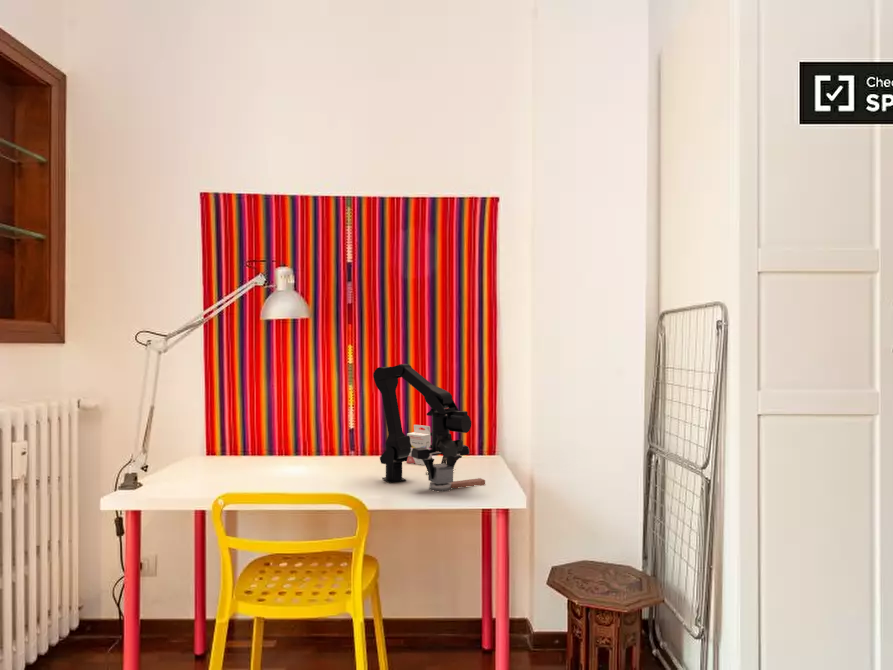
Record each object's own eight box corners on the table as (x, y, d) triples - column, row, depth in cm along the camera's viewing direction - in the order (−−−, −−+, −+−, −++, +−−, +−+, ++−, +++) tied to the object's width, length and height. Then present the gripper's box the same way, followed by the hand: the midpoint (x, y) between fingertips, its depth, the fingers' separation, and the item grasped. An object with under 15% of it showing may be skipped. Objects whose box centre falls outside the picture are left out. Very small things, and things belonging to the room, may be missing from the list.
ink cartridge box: (406, 463, 246) (406, 425, 247) (413, 461, 251) (413, 424, 251) (424, 465, 242) (424, 427, 242) (431, 463, 246) (431, 425, 246)
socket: (428, 480, 206) (428, 464, 206) (444, 478, 209) (444, 463, 209) (436, 483, 201) (436, 468, 201) (453, 481, 204) (453, 466, 204)
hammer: (435, 492, 200) (435, 476, 200) (426, 487, 206) (426, 472, 206) (488, 486, 209) (488, 471, 209) (477, 481, 215) (477, 467, 215)
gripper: (425, 435, 193) (425, 486, 193) (477, 431, 202) (477, 480, 202) (410, 430, 203) (410, 478, 203) (461, 427, 212) (461, 473, 212)
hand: (440, 477), depth 205 cm, fingers closed on socket, 6 cm apart
